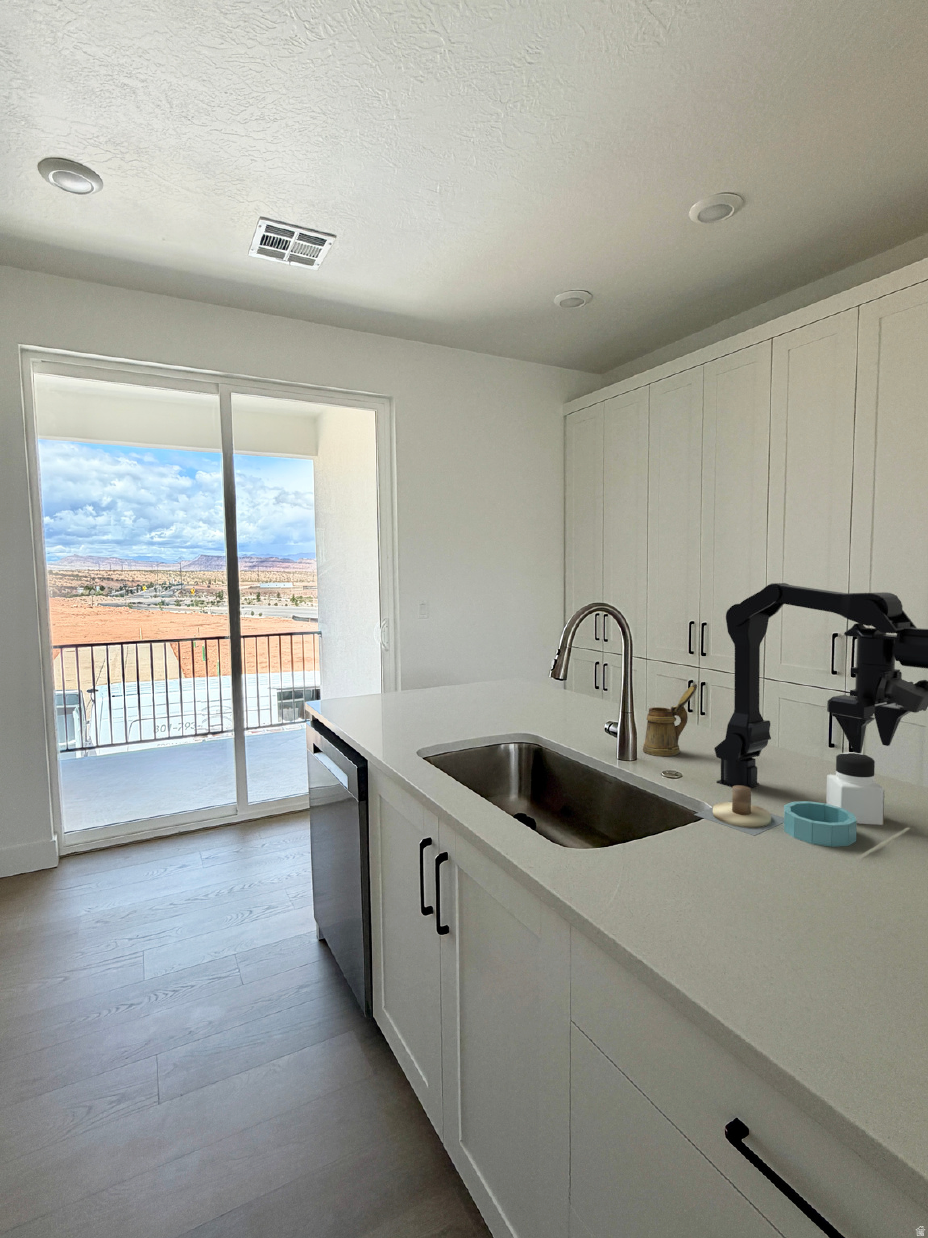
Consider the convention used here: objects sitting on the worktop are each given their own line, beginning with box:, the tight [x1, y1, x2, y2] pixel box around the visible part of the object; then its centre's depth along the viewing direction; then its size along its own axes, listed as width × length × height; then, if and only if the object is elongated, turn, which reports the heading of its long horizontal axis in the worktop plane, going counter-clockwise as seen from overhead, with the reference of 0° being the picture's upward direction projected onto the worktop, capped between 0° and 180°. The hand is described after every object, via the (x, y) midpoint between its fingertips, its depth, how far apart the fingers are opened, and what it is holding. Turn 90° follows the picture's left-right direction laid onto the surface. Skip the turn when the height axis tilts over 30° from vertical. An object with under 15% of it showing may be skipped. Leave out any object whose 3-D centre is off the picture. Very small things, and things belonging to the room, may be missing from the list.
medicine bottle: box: [825, 752, 885, 826], centre depth 114 cm, size 7×7×12 cm
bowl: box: [783, 800, 858, 848], centre depth 107 cm, size 11×11×4 cm
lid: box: [712, 785, 772, 828], centre depth 115 cm, size 10×10×6 cm
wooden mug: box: [642, 684, 698, 757], centre depth 159 cm, size 9×14×18 cm, turn 80°
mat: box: [693, 800, 784, 837], centre depth 115 cm, size 12×12×1 cm
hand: (871, 749), depth 110 cm, fingers open, 9 cm apart
